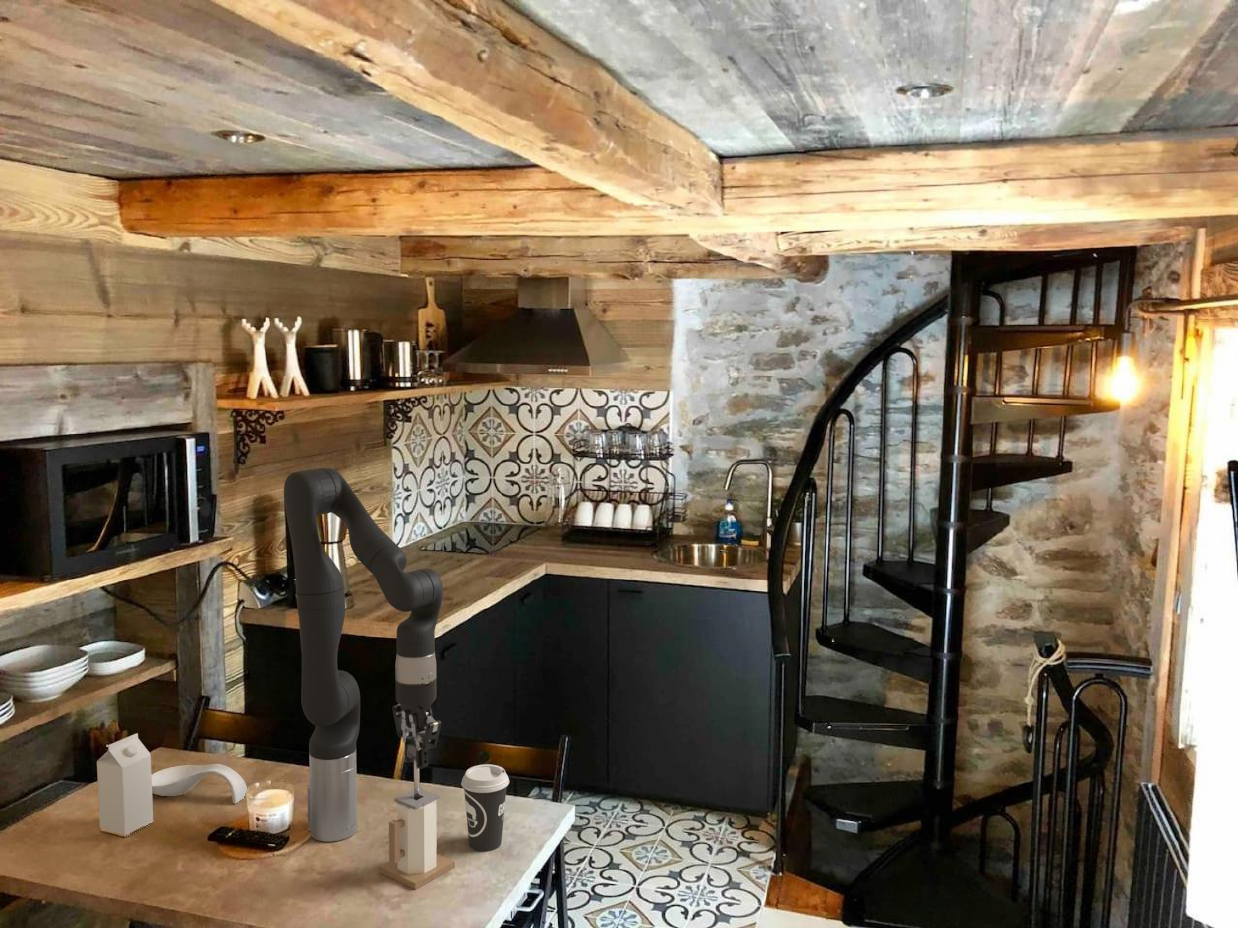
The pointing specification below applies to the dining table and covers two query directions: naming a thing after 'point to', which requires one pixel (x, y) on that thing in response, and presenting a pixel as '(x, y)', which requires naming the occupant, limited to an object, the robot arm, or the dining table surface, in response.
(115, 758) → the milk carton
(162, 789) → the spoon rest
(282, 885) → the dining table surface
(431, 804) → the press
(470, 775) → the coffee cup
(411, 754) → the plunger
